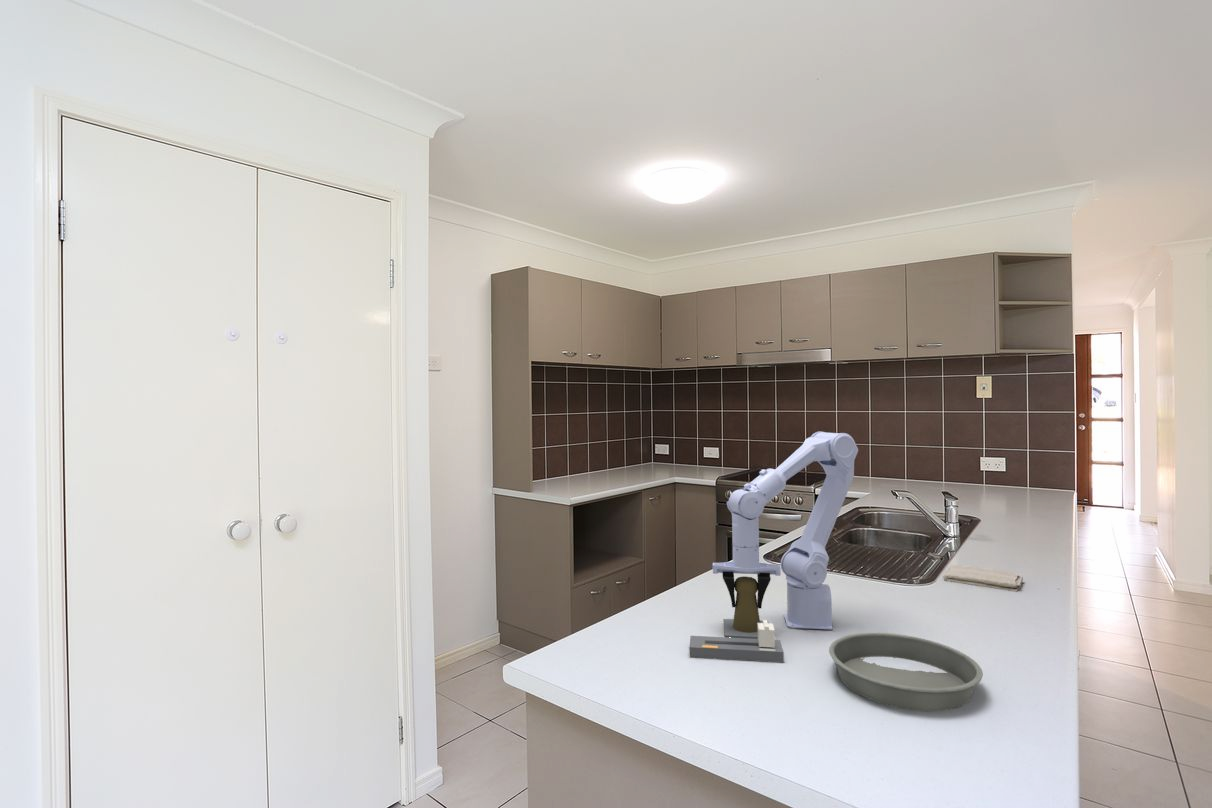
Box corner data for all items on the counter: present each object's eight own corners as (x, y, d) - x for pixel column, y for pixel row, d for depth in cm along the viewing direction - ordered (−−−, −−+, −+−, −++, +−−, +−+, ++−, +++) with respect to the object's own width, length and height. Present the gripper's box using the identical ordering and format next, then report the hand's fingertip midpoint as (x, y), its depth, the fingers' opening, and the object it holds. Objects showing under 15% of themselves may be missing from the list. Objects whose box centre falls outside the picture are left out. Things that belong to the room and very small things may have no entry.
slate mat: (768, 622, 138) (768, 620, 138) (772, 640, 128) (772, 637, 128) (723, 620, 140) (723, 618, 140) (724, 637, 130) (724, 635, 130)
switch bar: (780, 649, 123) (780, 639, 123) (783, 662, 117) (783, 651, 117) (690, 645, 126) (690, 635, 126) (689, 657, 120) (689, 646, 120)
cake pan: (1019, 703, 101) (1018, 676, 101) (897, 728, 94) (896, 699, 94) (906, 647, 124) (906, 625, 124) (802, 663, 117) (801, 640, 117)
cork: (761, 633, 131) (760, 582, 131) (732, 631, 132) (731, 581, 132) (760, 623, 137) (759, 574, 137) (733, 621, 138) (732, 573, 138)
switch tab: (772, 640, 122) (772, 620, 122) (774, 647, 119) (774, 627, 119) (757, 639, 123) (757, 619, 123) (759, 646, 119) (758, 626, 119)
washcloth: (1020, 594, 157) (1020, 582, 157) (942, 582, 168) (941, 571, 168) (1023, 583, 166) (1023, 572, 166) (949, 573, 177) (949, 562, 177)
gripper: (777, 541, 137) (778, 601, 137) (712, 540, 139) (713, 599, 139) (781, 549, 130) (782, 612, 130) (712, 547, 132) (713, 609, 132)
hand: (746, 606), depth 134 cm, fingers closed on cork, 5 cm apart
